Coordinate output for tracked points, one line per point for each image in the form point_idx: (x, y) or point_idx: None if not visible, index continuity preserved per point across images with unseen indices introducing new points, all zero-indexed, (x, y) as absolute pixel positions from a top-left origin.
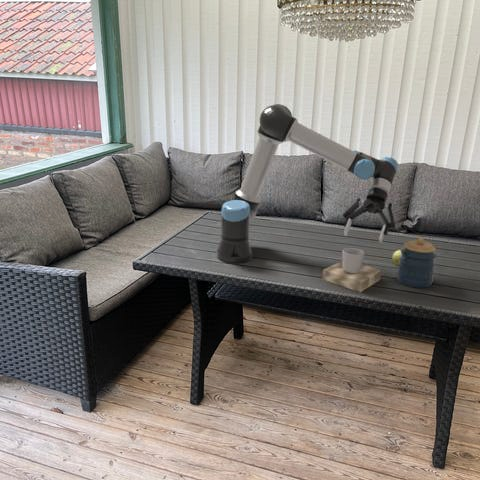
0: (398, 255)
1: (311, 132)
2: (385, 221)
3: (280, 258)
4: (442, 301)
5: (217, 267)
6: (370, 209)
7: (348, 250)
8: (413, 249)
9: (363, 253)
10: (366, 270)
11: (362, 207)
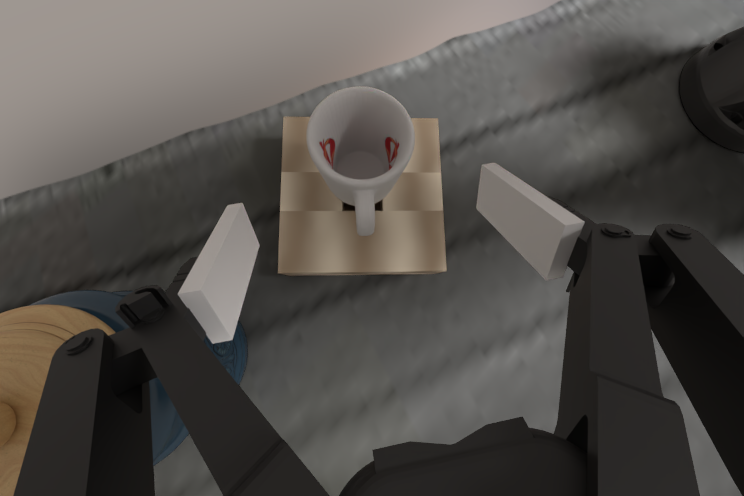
0: None
1: None
2: (179, 332)
3: (639, 193)
4: (56, 258)
5: (687, 5)
6: (476, 447)
7: (398, 158)
8: (42, 309)
9: (308, 141)
10: (321, 225)
11: (633, 389)
